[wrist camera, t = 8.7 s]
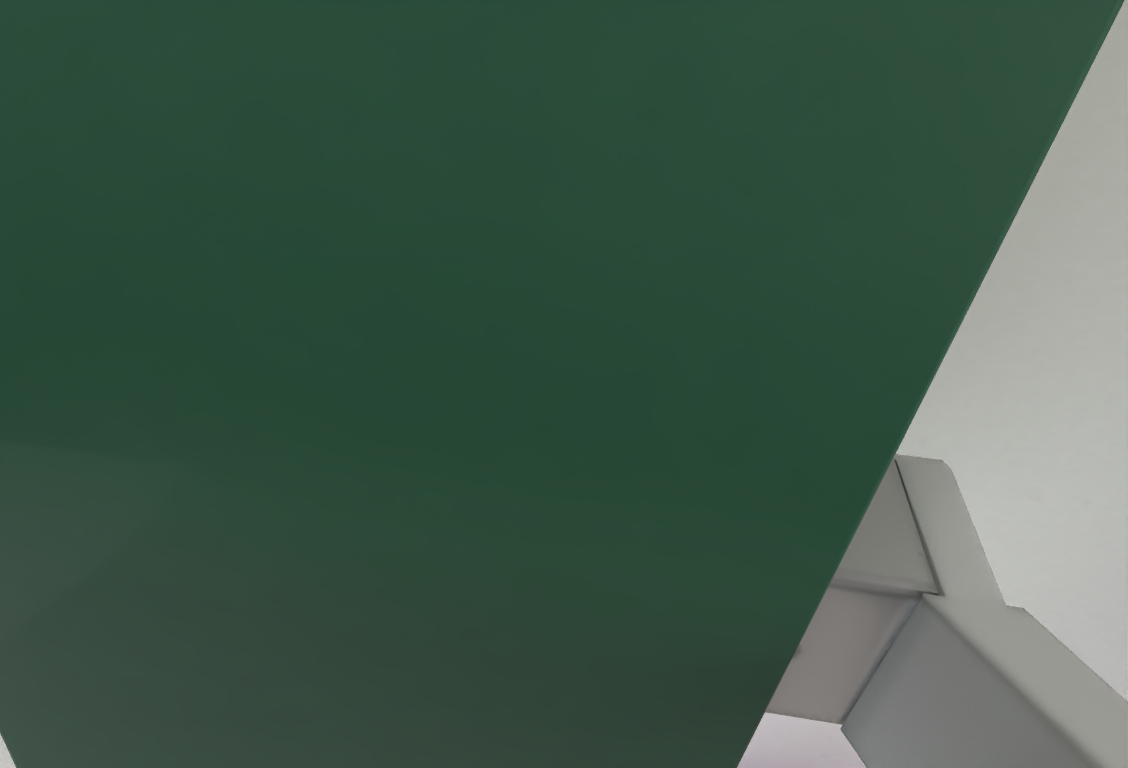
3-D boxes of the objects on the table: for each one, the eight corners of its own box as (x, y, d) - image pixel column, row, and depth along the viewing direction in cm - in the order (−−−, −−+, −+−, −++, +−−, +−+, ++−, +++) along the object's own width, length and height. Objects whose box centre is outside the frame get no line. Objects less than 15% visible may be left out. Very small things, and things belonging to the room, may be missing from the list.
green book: (-168, -659, 5) (-767, -898, 3) (1075, -425, 5) (1375, -484, 3) (168, 725, 13) (84, 919, 11) (629, 785, 13) (628, 985, 11)
